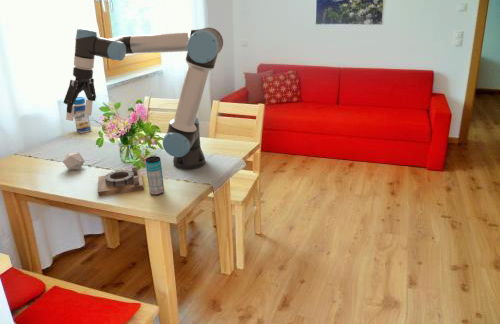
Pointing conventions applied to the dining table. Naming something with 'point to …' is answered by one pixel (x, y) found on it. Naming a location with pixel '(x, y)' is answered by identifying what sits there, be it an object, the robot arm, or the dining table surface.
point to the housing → (120, 182)
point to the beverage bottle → (81, 116)
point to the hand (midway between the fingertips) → (79, 117)
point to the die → (73, 161)
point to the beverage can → (154, 175)
